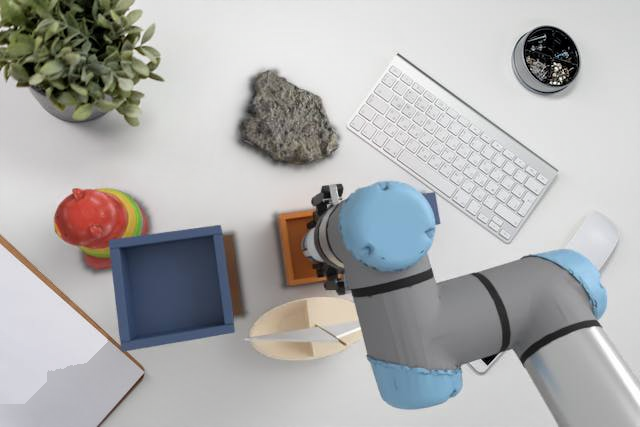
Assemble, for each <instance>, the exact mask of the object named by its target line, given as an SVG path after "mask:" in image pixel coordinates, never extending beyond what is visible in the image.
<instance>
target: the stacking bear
mask: <svg viewBox="0 0 640 427" xmlns="http://www.w3.org/2000/svg"><path fill="white" fill-rule="evenodd" d="M71 191H72V193H71V194H69V195H67V196H66V197H65V198H64V199H63V200H62V201H61V202H60V203H59V204H58V206H57V207H56V210H55V212H54V216H53V228H54V232H55V233H56V235H57V236H58V238H60V239H61V240H62V241H64V242H65V243H67V244H69V245H72V246H75V247H77V248H78V249H79V250H81V251H82V252H83V258H84V260H85V261H86V265H87V266H88V267H90V268H91V267H92V268H93V269H95V270H97V271H98V270H99V271H100V270H106V269H109V268H112V267H111V258H110V249H109V240H111V239H119V238H126V237H134V236H141V235H148V219H147V216H146V214H145V211H144V210H143V209H142V207H141V206H140V205H139V204H138V203H137V202H136V201H135V200H134V199H133V198H132V197H131V196H129V195H128V194H126V193H125V192H123V191H120V190H118V189H115V188H110V187H109V188H108V187H102V188H95V189H92V188H85V189H82V188H79V187H75V188H72V190H71Z"/></svg>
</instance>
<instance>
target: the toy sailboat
mask: <svg viewBox="0 0 640 427" xmlns="http://www.w3.org/2000/svg"><path fill="white" fill-rule="evenodd" d="M361 338H363V335H362V331H361V327H360V323H359V319H358V315H357V311H356V307H355V303H354V302H352V301H350V300H348V299H344V298H343V299H342V298H339V297H332V296H331V297H329V296H316V297H304V298H301V299H296V300H291V301H288V302H286V303H283V304H280V305H277V306H275V307H274V308H271V309H270V310H268V311H266V312H264V313H263V314H262V315H261V316H260V317H259V318H258V319H257V320H255V322H254V323H253V325H252V327H251V328H250V330H249V337H245V338H244V341H247V342H248V341H250V343H251V346H252V347H253V348H254V349H255V350H256V351H258V353H260V354H262V355H265V356H267V357H269V358H273V359H277V360H282V361H298V362H300V361H309V360H310V361H311V360H316V359H320V358H324V357H328V356H332V355H334V354H337V353H339V352H342V351H344V350H345V349H348V348H349V347H351V346H353V345H354V344H355V343H357V342H358V341H359V340H360V339H361Z"/></svg>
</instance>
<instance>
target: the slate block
mask: <svg viewBox="0 0 640 427" xmlns="http://www.w3.org/2000/svg"><path fill="white" fill-rule="evenodd" d="M421 194H422V195H423V196H424V197H425V198H426V200H427V201H428V203H429V204H430V206H431V208H432V211H433V213H434V218H435V226H438V225H441V218H440V213H439V206H438V202H437V195H436V194H437V193H436V192H435V191H432V192H424V193H421Z"/></svg>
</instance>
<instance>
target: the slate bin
mask: <svg viewBox="0 0 640 427" xmlns="http://www.w3.org/2000/svg"><path fill="white" fill-rule="evenodd" d="M233 236H234V235H233V234H228V235H223V228H222V225H221V224H217V225H208V226H202V227H194V228H187V229H180V230H171V231H164V232H156V233H149V234H146V235H141V236H134V237H126V238H119V239H111V240H109V249H110V258H111V267H110V268H111V274H112V282H113V290H114V291H113V292H114V300H115V307H116V308H115V309H116V317H117V318H116V319H117V327H118V334H119V342H120V344H119V345H120V352H122V353H123V352H129V351H135V350H140V349H141V350H142V349H146V348H153V347H154V348H155V347H159V346H164V345H165V346H166V345H171V344H176V343H182V342H183V343H184V342H189V341H194V340H195V341H196V340H200V339H201V340H202V339H206V338H213V337H217V336H223V335H228V334H229V335H230V334H234V333H235V332H236V325H235V319H234V318H235V317H234V316H241V315H244V310H243V303H242V296H241V288H240V280H239V275H238V265H237V258H236V251H235V243H234V237H233Z"/></svg>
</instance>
